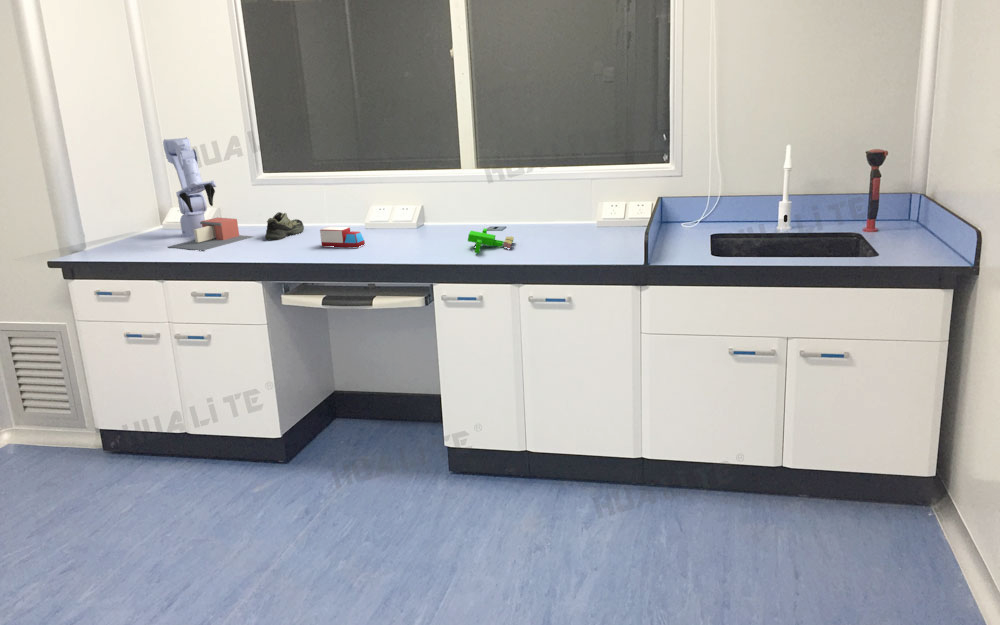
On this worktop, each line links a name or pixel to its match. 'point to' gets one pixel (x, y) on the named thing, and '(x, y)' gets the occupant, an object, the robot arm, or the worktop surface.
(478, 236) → the toy
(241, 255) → the worktop surface
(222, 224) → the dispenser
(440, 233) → the worktop surface
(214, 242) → the mat
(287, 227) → the hiking shoe
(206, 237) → the cream rectangular block
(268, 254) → the worktop surface
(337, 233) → the toy truck
